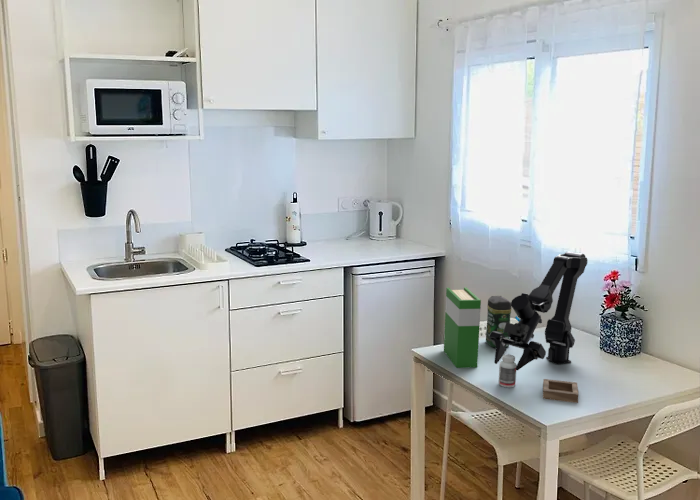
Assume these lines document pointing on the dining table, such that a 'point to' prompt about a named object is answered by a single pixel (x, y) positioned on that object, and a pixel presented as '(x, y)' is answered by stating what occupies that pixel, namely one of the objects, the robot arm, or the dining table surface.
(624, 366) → the dining table surface
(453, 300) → the hardback book
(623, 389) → the dining table surface
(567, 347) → the robot arm
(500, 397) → the dining table surface
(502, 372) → the pill bottle
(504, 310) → the coffee jar
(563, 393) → the socket block
